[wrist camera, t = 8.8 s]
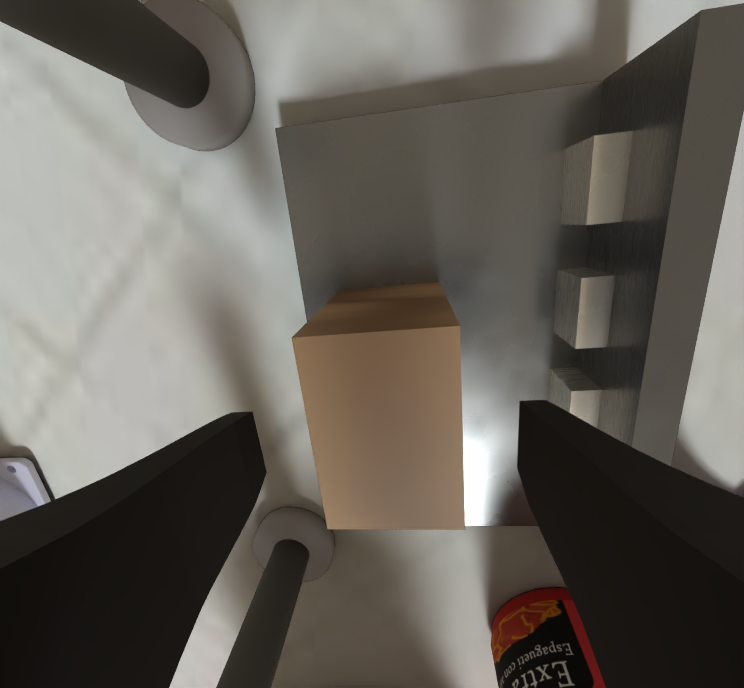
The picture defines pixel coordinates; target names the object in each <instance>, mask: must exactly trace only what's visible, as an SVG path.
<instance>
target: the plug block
mask: <svg viewBox="0 0 744 688" xmlns="http://www.w3.org/2000/svg"><path fill="white" fill-rule="evenodd" d="M292 342H293V348H294V353H295V358H296V364H297V369H298V375H299V380H300V385H301V391H302V396H303V401H304V407H305V412H306V417H307V423H308V428H309V433H310V439H311V444H312V449H313V455H314V460H315V465H316V471H317V476H318V481H319V487H320V492H321V497H322V503H323V508H324V513H325V519H326V524H327V529H445V530H465V495H464V458H463V420H462V383H461V346H460V325H459V323H458V321H457V318H456V316H455V314H454V312H453V310H452V308H451V306H450V303H449V301H448V299H447V297H446V295H445V293H444V291H443V288H442V286H441V284H440V282H435V283H423V284H412V285H401V286H389V287H378V288H366V289H355V290H343V291H338V292H337V293H336V294H335V295H334V296H333V297H332V298H331V299H330V300H329V301H328V302H327V303H326V304H325V305H324V306H323V307H322V308H321V309H320V310H319V311H318V312H317V313H316V314H315V315H314V316H313V317H312V318H311V319H310V320H309V321H308V322H307V323H306V324H305V325H304V326H303V327H302V328H301V329H300V330H299V331H298V332H297V333H296V334H295V335H294V336H293V337H292Z"/></svg>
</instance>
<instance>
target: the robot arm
mask: <svg viewBox="0 0 744 688" xmlns="http://www.w3.org/2000/svg"><path fill="white" fill-rule="evenodd" d="M517 469H518V473H519V476H520V479H521V482H522V486H523V489H524V492H525V495H526V498H527V501H528V504H529V506H530V508H531V511H532V513H533V515H534V517H535V520H536V522H537V524H538V526H539V528H540V530H541V533H542V535H543V537H544V539H545V541H546V543H547V546H548V548H549V550H550V552H551V554H552V556H553V558H554V561H555V563H556V565H557V567H558V569H559V571H560V573H561V576H562V578H563V580H564V582H565V584H566V586H567V588H568V591H569V593H570V595H571V597H572V599H573V602H574V604H575V606H576V609H577V611H578V614H579V616H580V618H581V621H582V623H583V626H584V629H585V632H586V634H587V637H588V640H589V643H590V645H591V648H592V651H593V654H594V656H595V659H596V662H597V665H598V667H599V670H600V673H601V676H602V678H603V681H604V684H605V687H606V688H744V498H742V497H740V496H737V495H735V494H733V493H730V492H728V491H726V490H723V489H721V488H719V487H716V486H714V485H712V484H709V483H707V482H704V481H702V480H700V479H697V478H695V477H693V476H690V475H688V474H686V473H684V472H682V471H680V470H677V469H675V468H673V467H671V466H669V465H667V464H665V463H663V462H661V461H659V460H657V459H655V458H653V457H651V456H649V455H647V454H645V453H643V452H640V451H638V450H636V449H635V448H633V447H631V446H629V445H627V444H625V443H623V442H621V441H619V440H618V439H616V438H614V437H612V436H610V435H608V434H607V433H605V432H603V431H601V430H599V429H598V428H596V427H594V426H592V425H590V424H589V423H587V422H585V421H583V420H582V419H580V418H578V417H576V416H575V415H573V414H571V413H569V412H568V411H566V410H564V409H562V408H560V407H559V406H557V405H555V404H553V403H551V402H549V401H546V400H526V401H519V428H518V455H517ZM266 473H267V472H266V467H265V463H264V459H263V455H262V450H261V446H260V442H259V438H258V433H257V429H256V425H255V421H254V416H253V412H233V413H230V414H227V415H225V416H222V417H220V418H218V419H216V420H214V421H212V422H210V423H208V424H206V425H204V426H202V427H201V428H199V429H197V430H195V431H193V432H191V433H189V434H188V435H186V436H184V437H182V438H180V439H178V440H177V441H175V442H173V443H171V444H169V445H167V446H166V447H164V448H162V449H160V450H158V451H156V452H154V453H152V454H150V455H149V456H147V457H145V458H143V459H141V460H139V461H137V462H135V463H133V464H131V465H129V466H127V467H125V468H123V469H121V470H119V471H117V472H115V473H113V474H111V475H109V476H107V477H105V478H103V479H101V480H99V481H96V482H94V483H92V484H90V485H88V486H85V487H83V488H81V489H79V490H76V491H74V492H72V493H69V494H67V495H65V496H63V497H60V498H58V499H56V500H53V501H51V500H50V498H49V496H48V494H47V492H46V490H45V487H44V485H43V483H42V481H41V479H40V477H39V475H38V473H37V471H36V469H35V467H34V465H33V463H32V462H31V461H30V460H29V459H26V458H0V688H169V686H170V684H171V681H172V679H173V676H174V674H175V671H176V669H177V666H178V663H179V661H180V658H181V656H182V653H183V651H184V649H185V646H186V644H187V642H188V639H189V637H190V634H191V632H192V630H193V627H194V625H195V623H196V620H197V618H198V615H199V613H200V611H201V608H202V606H203V604H204V602H205V600H206V598H207V596H208V594H209V592H210V590H211V588H212V586H213V584H214V582H215V580H216V578H217V576H218V575H219V573H220V571H221V569H222V567H223V565H224V563H225V561H226V560H227V558H228V556H229V554H230V552H231V550H232V548H233V546H234V544H235V543H236V541H237V539H238V537H239V535H240V533H241V531H242V529H243V527H244V525H245V523H246V522H247V520H248V518H249V516H250V514H251V512H252V510H253V508H254V506H255V503H256V501H257V498H258V495H259V493H260V490H261V487H262V484H263V481H264V478H265V476H266Z"/></svg>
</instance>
